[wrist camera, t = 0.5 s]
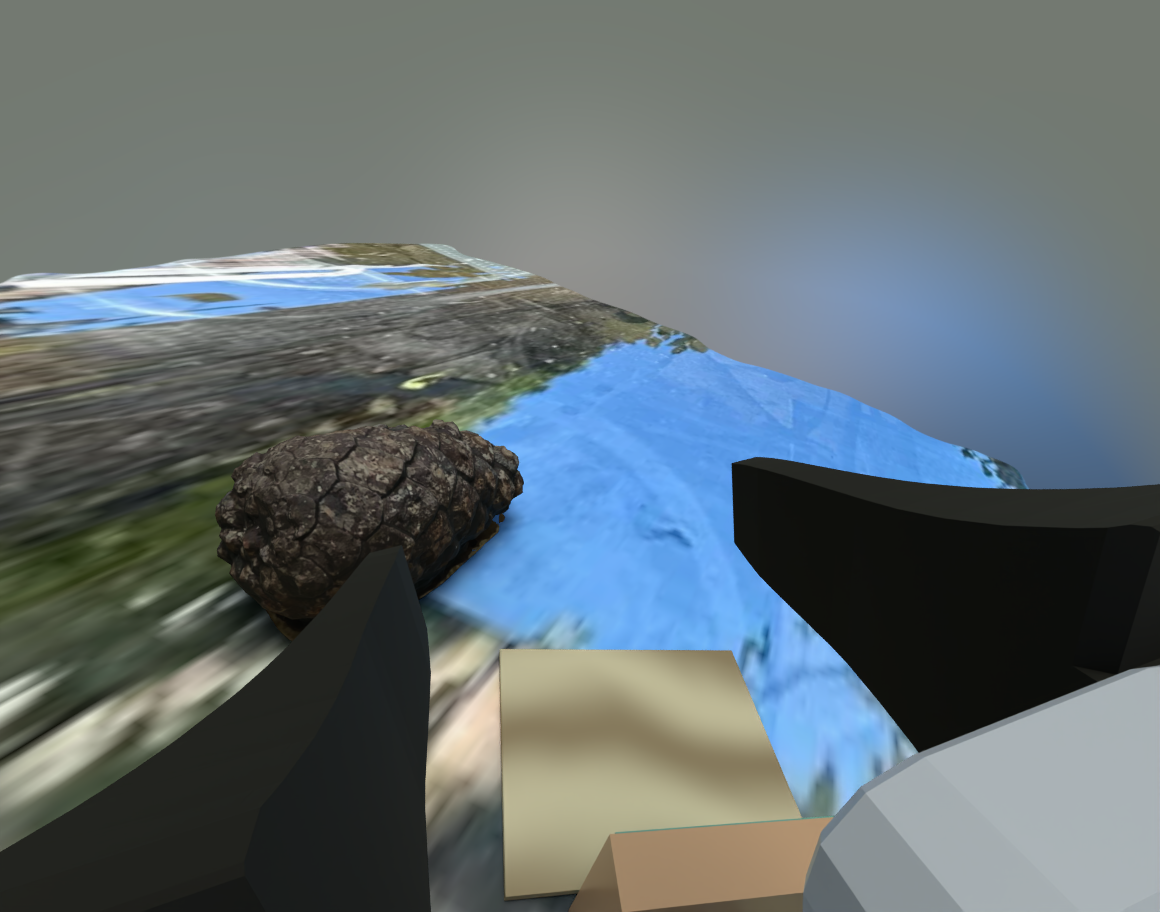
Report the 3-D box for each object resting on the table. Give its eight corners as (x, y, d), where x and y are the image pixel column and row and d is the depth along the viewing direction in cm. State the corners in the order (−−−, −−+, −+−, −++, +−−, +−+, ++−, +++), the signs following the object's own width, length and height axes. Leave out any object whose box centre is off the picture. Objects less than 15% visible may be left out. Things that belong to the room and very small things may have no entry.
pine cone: (536, 523, 39) (561, 405, 34) (320, 703, 26) (304, 552, 20) (431, 461, 43) (438, 344, 38) (192, 589, 29) (150, 435, 24)
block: (793, 950, 22) (882, 883, 18) (574, 980, 20) (622, 912, 16) (770, 884, 23) (847, 811, 19) (567, 906, 21) (608, 829, 17)
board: (817, 869, 24) (822, 865, 24) (504, 900, 21) (505, 896, 21) (729, 654, 33) (731, 650, 33) (499, 653, 30) (500, 649, 30)
